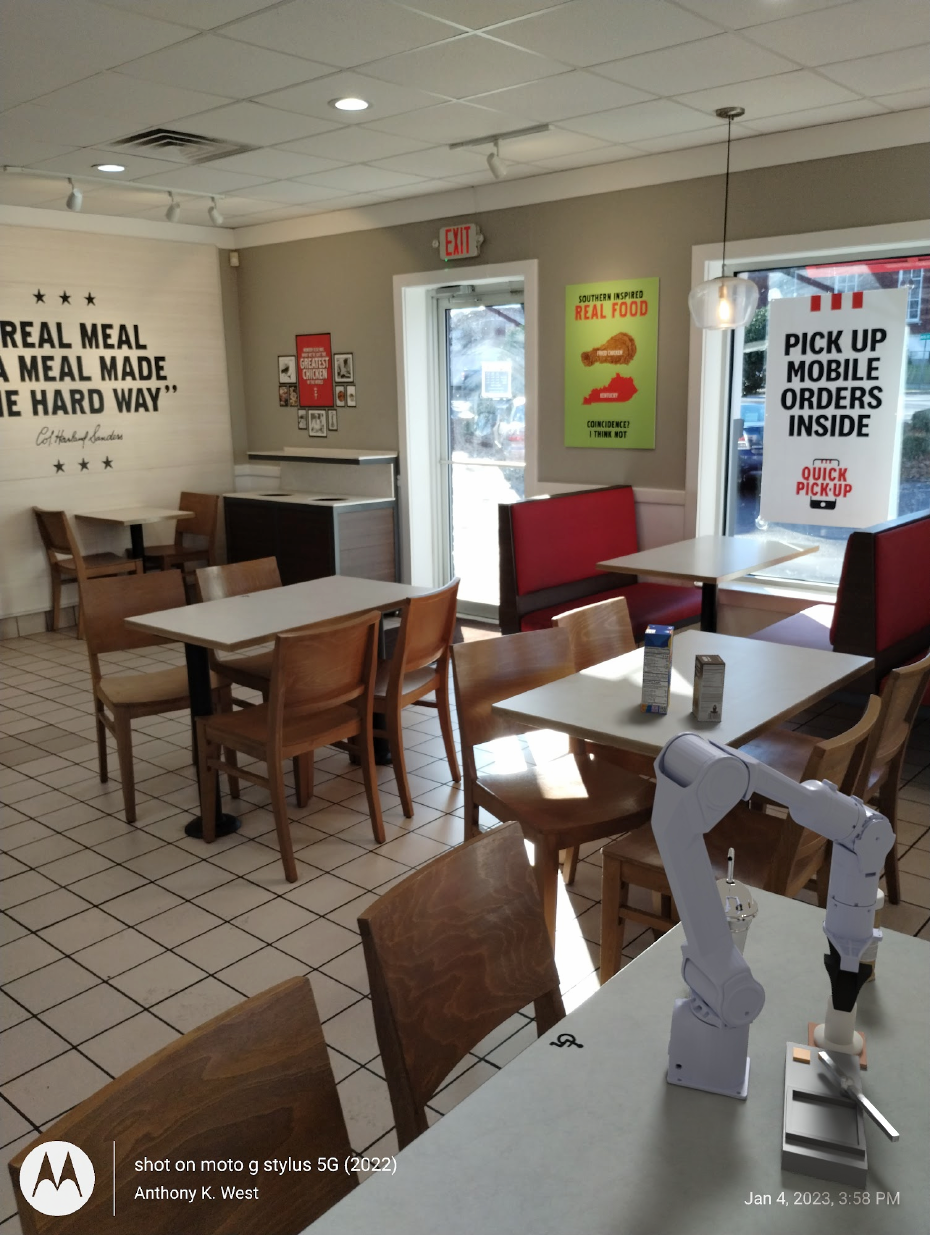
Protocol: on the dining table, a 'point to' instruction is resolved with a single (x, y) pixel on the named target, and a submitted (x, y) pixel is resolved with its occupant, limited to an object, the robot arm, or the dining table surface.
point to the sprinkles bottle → (871, 951)
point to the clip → (858, 1097)
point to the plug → (838, 1031)
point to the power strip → (822, 1118)
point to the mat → (811, 1043)
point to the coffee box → (708, 687)
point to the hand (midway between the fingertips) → (841, 993)
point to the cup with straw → (737, 905)
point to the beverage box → (657, 669)
